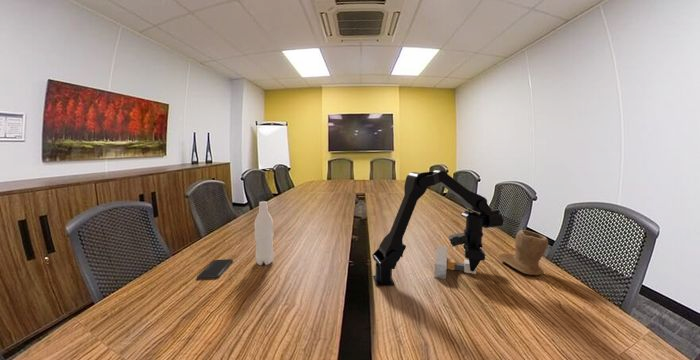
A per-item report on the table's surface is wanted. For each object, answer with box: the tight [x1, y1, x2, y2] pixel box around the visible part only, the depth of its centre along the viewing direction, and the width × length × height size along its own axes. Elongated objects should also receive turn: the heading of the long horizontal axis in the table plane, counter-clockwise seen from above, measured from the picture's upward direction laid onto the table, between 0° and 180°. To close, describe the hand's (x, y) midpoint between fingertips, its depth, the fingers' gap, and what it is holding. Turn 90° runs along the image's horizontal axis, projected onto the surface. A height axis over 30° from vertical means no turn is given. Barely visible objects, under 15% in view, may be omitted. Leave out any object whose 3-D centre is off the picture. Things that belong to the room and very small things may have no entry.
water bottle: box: [253, 200, 275, 266], centre depth 104 cm, size 7×7×25 cm
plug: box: [446, 258, 477, 275], centre depth 99 cm, size 10×4×4 cm, turn 69°
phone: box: [196, 258, 234, 280], centre depth 99 cm, size 8×1×15 cm
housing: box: [433, 245, 448, 280], centre depth 102 cm, size 4×20×5 cm, turn 159°
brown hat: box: [497, 229, 549, 276], centre depth 101 cm, size 15×12×15 cm
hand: (471, 268), depth 98 cm, fingers closed on plug, 4 cm apart
